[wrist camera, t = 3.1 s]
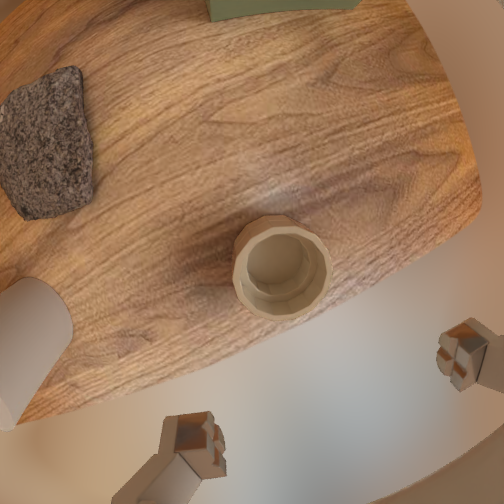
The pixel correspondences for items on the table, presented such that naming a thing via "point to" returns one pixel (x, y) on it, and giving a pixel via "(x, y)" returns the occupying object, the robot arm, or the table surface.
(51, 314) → the taupe round pillar
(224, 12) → the scale
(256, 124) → the table surface
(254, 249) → the small bowl
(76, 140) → the stone
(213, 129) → the table surface
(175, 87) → the table surface
